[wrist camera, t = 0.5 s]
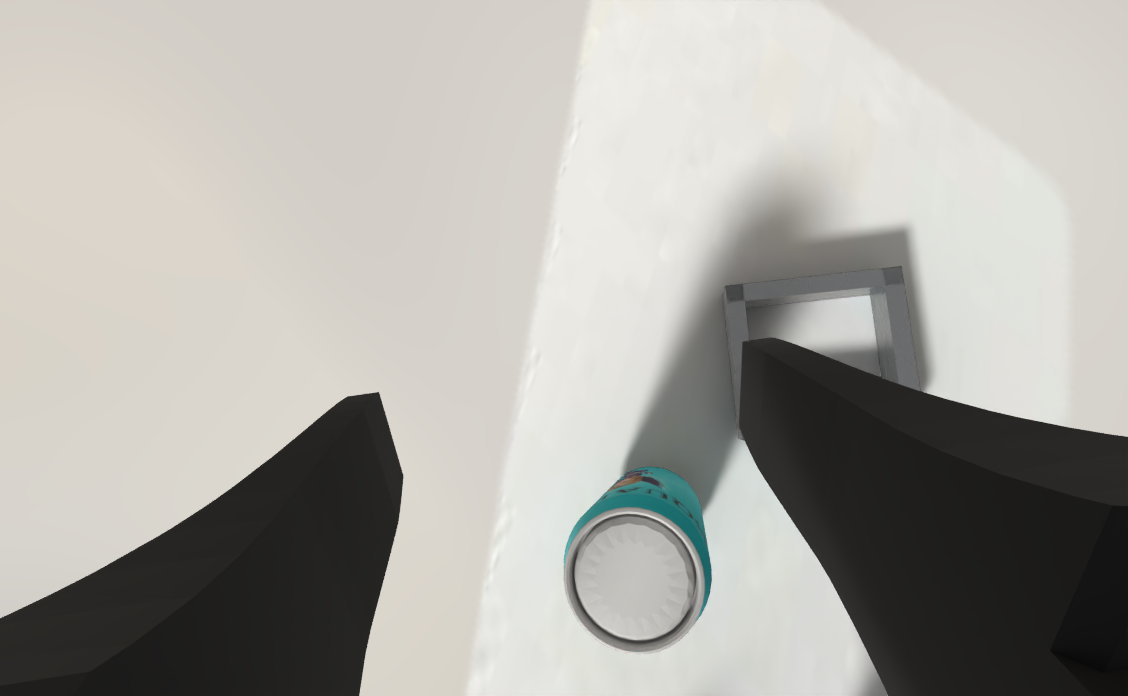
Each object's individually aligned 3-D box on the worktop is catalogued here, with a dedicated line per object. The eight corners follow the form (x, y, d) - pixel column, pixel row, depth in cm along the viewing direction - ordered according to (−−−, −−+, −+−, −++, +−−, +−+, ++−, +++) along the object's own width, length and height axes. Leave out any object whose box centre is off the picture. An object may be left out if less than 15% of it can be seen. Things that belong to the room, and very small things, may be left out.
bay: (908, 427, 33) (926, 429, 30) (738, 438, 35) (742, 440, 32) (886, 276, 34) (901, 266, 31) (722, 294, 36) (725, 285, 33)
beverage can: (669, 447, 35) (658, 471, 21) (719, 530, 34) (746, 617, 20) (591, 492, 36) (528, 546, 21) (638, 575, 35) (605, 692, 20)
